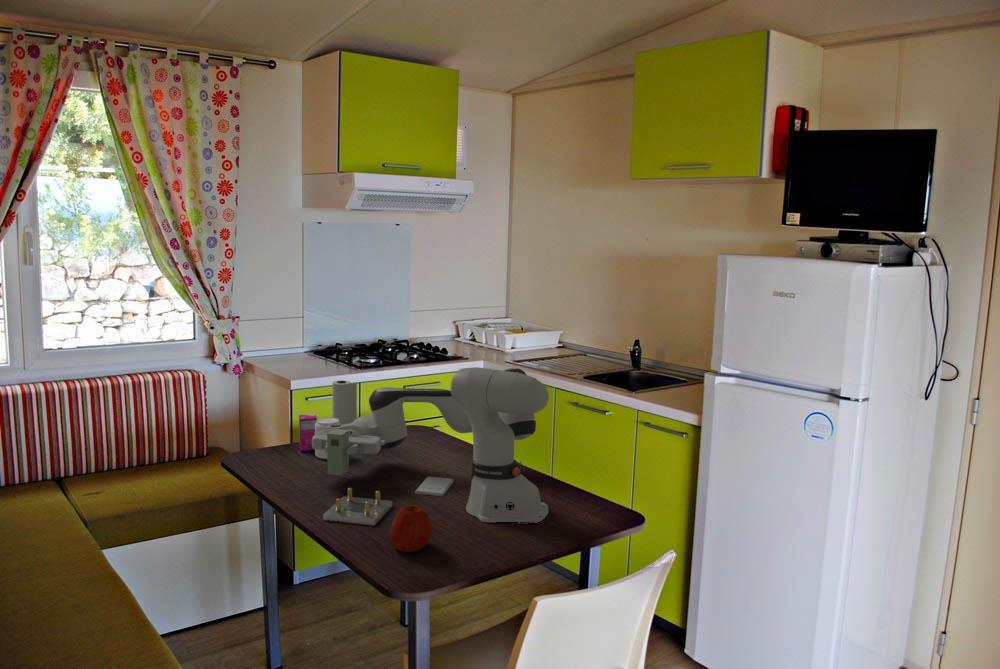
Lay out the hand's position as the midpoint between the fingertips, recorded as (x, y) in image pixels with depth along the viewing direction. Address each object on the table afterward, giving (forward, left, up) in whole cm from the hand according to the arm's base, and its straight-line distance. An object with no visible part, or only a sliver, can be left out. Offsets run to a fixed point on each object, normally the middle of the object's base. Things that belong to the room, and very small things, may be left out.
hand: (336, 451), depth 233 cm
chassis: (-12, +15, -12) cm, 22 cm away
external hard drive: (-26, -9, -12) cm, 31 cm away
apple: (-32, +32, -12) cm, 47 cm away
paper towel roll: (+16, -43, -12) cm, 47 cm away
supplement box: (+24, -33, -12) cm, 42 cm away
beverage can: (+15, -28, -12) cm, 34 cm away
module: (0, -1, -7) cm, 7 cm away
